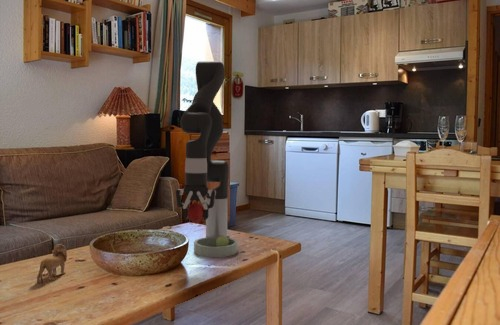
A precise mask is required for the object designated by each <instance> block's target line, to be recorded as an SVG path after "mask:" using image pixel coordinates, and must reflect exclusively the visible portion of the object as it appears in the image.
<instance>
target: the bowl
mask: <svg viewBox="0 0 500 325" xmlns="http://www.w3.org/2000/svg"><path fill="white" fill-rule="evenodd" d="M217 238H218V237H207V236H205V237H200V238H197V239H195V241H194V242H193V252H194V254H196V255H198V256H201V257H206V258H225V257H226V258H227V257H230V256H234V255H236V254H237V253H238V250H239V249H238V248H239V247H238V246H239V244H238V242H239V241H238V240H236V239H235V238H232V237H227V238H228V240H229V245H228V246H221V247H217V246H216V240H217Z"/></svg>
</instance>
